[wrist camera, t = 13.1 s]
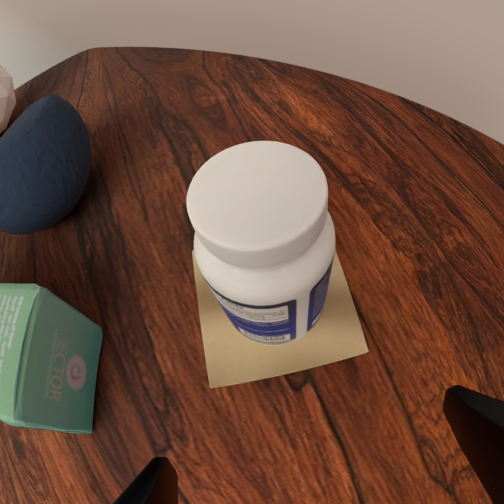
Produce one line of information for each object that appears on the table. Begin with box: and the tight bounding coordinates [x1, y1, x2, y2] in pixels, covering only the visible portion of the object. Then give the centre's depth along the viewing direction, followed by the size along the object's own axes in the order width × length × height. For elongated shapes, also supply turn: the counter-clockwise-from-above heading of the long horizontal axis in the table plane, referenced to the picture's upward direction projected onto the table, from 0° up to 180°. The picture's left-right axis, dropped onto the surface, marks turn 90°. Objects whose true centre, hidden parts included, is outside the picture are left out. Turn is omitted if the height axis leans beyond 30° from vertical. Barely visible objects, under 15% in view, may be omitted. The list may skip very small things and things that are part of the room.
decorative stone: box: [0, 94, 91, 234], centre depth 22 cm, size 12×12×10 cm
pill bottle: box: [187, 141, 336, 346], centre depth 15 cm, size 6×6×10 cm
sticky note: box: [192, 250, 369, 388], centre depth 19 cm, size 9×9×1 cm
